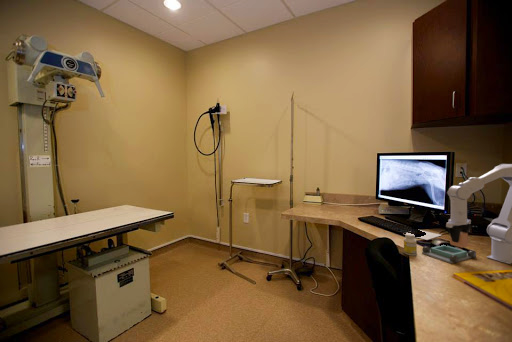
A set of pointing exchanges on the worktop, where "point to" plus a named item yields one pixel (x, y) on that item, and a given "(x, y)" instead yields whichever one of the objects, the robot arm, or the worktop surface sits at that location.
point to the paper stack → (429, 235)
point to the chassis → (448, 253)
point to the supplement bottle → (410, 244)
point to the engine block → (460, 240)
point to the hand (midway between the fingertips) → (458, 241)
